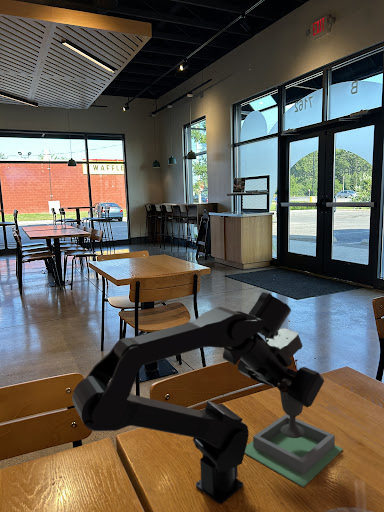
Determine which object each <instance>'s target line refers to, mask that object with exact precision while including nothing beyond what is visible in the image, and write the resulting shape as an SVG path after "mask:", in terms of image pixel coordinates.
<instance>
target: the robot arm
mask: <svg viewBox="0 0 384 512" xmlns="http://www.w3.org/2000/svg"><path fill="white" fill-rule="evenodd" d="M291 312H292V309H291V307H290V306H289V305H288V304H287V303H285V302H283V301H282V300H280V299H278V298H277V297H276V296H273V295H272V293H270V292H266V291H262V292H261V294H259V297H258V298H257V300H256V302H255V303H254V306H252V308H251V309H250V311H249V312H248V313H246V312H243V311H240V310H232V309H229V308H226V307H223V306H217V307H214V308H212V309H210V310H207V311H205V312H203V313H202V314H201V315H200V316H198V317H197V318H196V319H195V320H193V321H190V322H187V323H183V324H178V325H175V326H172V327H167V328H163V329H161V330H157V331H153V332H149V333H144V334H141V335H137V336H133V337H123V338H121V339H119V340H118V341H117V342H116V343H114V346H113V347H112V348H111V349H110V352H108V354H106V355H105V356H104V357H103V358H102V359H100V360H99V361H98V362H97V363H96V364H95V365H94V366H93V367H92V369H91V370H90V372H89V373H88V374H87V376H86V377H85V378H84V379H82V380H81V381H79V382H78V383H76V386H75V388H74V389H73V393H72V395H71V397H72V403H73V406H74V407H75V409H76V412H77V414H78V415H79V418H80V419H81V421H82V423H83V425H84V426H85V427H86V428H87V429H88V430H90V431H93V432H117V431H119V430H122V429H125V428H127V427H136V428H142V429H147V430H153V431H158V432H161V433H162V432H163V433H169V434H173V435H178V436H185V437H188V438H189V437H190V438H192V441H193V442H192V443H193V445H194V447H195V448H196V450H199V452H200V453H202V457H201V458H200V459H199V460H200V462H199V463H200V480H198V481H197V482H195V487H196V488H197V490H199V491H201V492H202V493H204V494H205V495H206V496H207V497H209V498H210V499H212V500H213V501H214V502H215V503H217V504H218V505H222V504H223V503H224V502H226V501H227V500H229V499H230V498H231V497H232V496H233V495H234V494H236V493H237V492H239V491H240V490H241V489H242V488H243V487H244V482H243V481H241V480H240V479H239V478H238V477H239V476H238V466H240V465H242V464H243V462H244V456H245V455H246V454H245V450H246V446H247V445H248V442H249V433H250V432H249V427H248V425H247V424H246V423H244V421H243V418H242V417H240V416H239V415H238V414H237V413H235V412H234V411H233V410H231V409H230V408H228V407H227V406H226V405H225V404H224V403H214V402H212V401H210V400H207V401H206V405H205V407H204V408H202V409H196V408H192V407H191V408H190V407H187V406H182V405H178V404H173V403H169V402H164V401H162V400H157V399H152V398H149V397H144V396H140V395H135V394H134V393H132V391H133V386H134V383H135V380H136V379H137V375H138V373H139V372H140V370H141V369H142V367H143V366H146V365H149V364H151V363H155V362H159V361H163V360H166V359H169V358H172V357H175V356H179V355H182V354H185V353H188V352H191V351H194V350H197V349H203V348H218V349H219V348H221V349H222V348H223V353H222V359H223V360H225V361H227V362H229V363H230V364H232V365H233V366H236V365H237V371H239V372H240V373H241V374H242V375H243V376H246V377H247V378H249V379H252V380H253V381H254V382H255V381H256V382H257V383H259V384H263V385H267V386H271V387H274V388H277V384H281V382H282V380H283V379H284V380H286V381H288V382H290V383H291V384H290V386H289V388H288V396H289V397H288V398H290V399H292V400H294V401H296V402H298V403H300V404H302V405H303V407H305V408H309V407H311V406H312V405H313V403H314V402H315V400H316V397H317V395H318V394H319V392H320V390H321V389H322V387H323V385H324V382H325V380H324V377H323V375H322V374H320V373H319V372H318V371H316V370H313V369H311V368H308V367H306V366H303V367H302V366H301V367H300V368H298V370H297V369H296V370H297V371H294V370H295V369H293V370H292V368H291V369H290V367H291V366H292V363H293V362H294V361H293V360H292V359H291V358H292V357H293V356H294V355H295V354H296V353H297V352H298V351H299V350H301V349H302V348H303V347H304V346H303V343H302V340H301V338H300V335H299V333H298V331H295V330H292V329H288V328H285V327H283V328H282V326H283V324H284V323H285V321H286V320H287V318H288V317H289V315H290V314H291ZM261 335H262V336H264V338H263V337H262V336H261ZM287 373H288V374H287ZM289 374H290V375H289Z"/></svg>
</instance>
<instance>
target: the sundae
mask: <svg viewBox="0 0 384 512" xmlns="http://www.w3.org/2000/svg"><path fill="white" fill-rule="evenodd" d="M294 362H295V363H294V365H293V366H292V367H291V368H290V367H289V369H292V370H294V371H297V370H299V368H298V364H297V362H298V359H294ZM294 367H296V369H294ZM287 374H288V373H287ZM289 375H290V374H289ZM290 384H291V383H290V382H288V381H286V380H284V379H283V380H282V382H281V384H277V387H276V388H277V390H278V391H279V393H280V394H279V395H280V402H281V407H282V410H283V412H284V413H285V414H287V415H289V416H290V423H289V424H287V425H284V426H282V427H281V432H282V434H283V435H285V436H287V437H290V438H300V437H302V436H303V435H304V434H305V431H304V429H303V428H302V427H300V426H298V425H296V423H295V418H296V417H298V416H300V414H302V412H303V409H304V406H303V405H302V404H300V403H298V402H296V401H294V400H292V399H290V398H288V397H289V396H288V388H289V386H290Z"/></svg>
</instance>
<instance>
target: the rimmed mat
mask: <svg viewBox="0 0 384 512" xmlns="http://www.w3.org/2000/svg"><path fill="white" fill-rule="evenodd" d="M289 423H290V416H289V415H287V414H286V413H285V414H284V415H283V416H281V417H279V418H278V419H276V420H275V421H273V422H272V423H271V424H269V425H268V426H266V427H265V428H263V429H262V430H260V431H259V432H257V433H256V434H254V435H253V436H252V441H250V442H249V443H247V446H246V450H245V454H244V455H246V456H248V457H250V458H251V459H253V460H255V461H257V462H258V463H260V464H262V465H264V466H266V467H267V468H268V469H270V470H272V471H274V472H276V473H278V475H281V476H282V477H285V479H287V480H289V481H291V482H293V483H295V484H296V485H298V486H300V487H301V488H304V487H306V486H307V484H309V483H310V482H311V480H313V479H314V478H315V477H316V476H317V475H318V474H319V473H320V472H321V471H322V470H324V469H325V467H326V466H328V465H329V463H331V462H332V461H333V460H334V459H335V458H337V456H338V455H339V454H340V453H341V452H343V449H344V448H342V447H340V446H338V445H336V443H335V442H336V441H335V440H336V439H335V438H336V437H335V435H334V434H332V433H331V432H328V431H325V430H323V429H321V428H319V427H316V426H314V425H311V424H310V423H307V422H305V421H304V420H303V421H302V420H300V419H298V418H296V417H295V423H296V425H298V426H300V427H302V428H303V429H304V431H305V434H304V435H303V436H302V437H300V438H290V437H287V436H285V435H283V434H282V432H281V427H282V426H284V425H287V424H289Z"/></svg>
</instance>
